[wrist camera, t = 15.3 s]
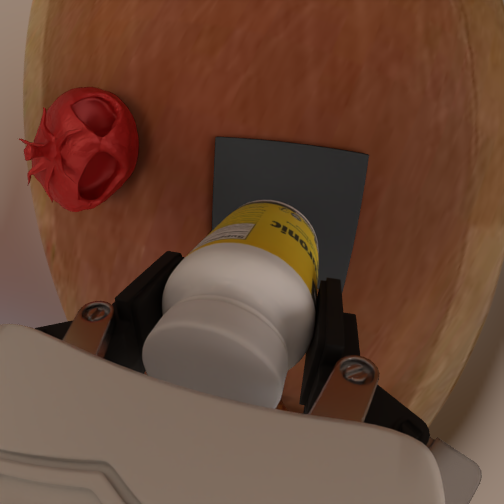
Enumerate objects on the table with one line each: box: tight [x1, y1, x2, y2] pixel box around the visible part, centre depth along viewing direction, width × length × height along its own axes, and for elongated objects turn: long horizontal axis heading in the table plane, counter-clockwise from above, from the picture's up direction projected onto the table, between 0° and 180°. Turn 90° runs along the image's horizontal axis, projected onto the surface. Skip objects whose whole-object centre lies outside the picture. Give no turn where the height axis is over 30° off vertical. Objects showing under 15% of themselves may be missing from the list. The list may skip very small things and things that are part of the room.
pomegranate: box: [19, 87, 139, 212], centre depth 19 cm, size 10×10×9 cm
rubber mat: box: [212, 137, 369, 291], centre depth 22 cm, size 11×11×1 cm
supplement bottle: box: [142, 200, 319, 409], centre depth 12 cm, size 5×5×10 cm
